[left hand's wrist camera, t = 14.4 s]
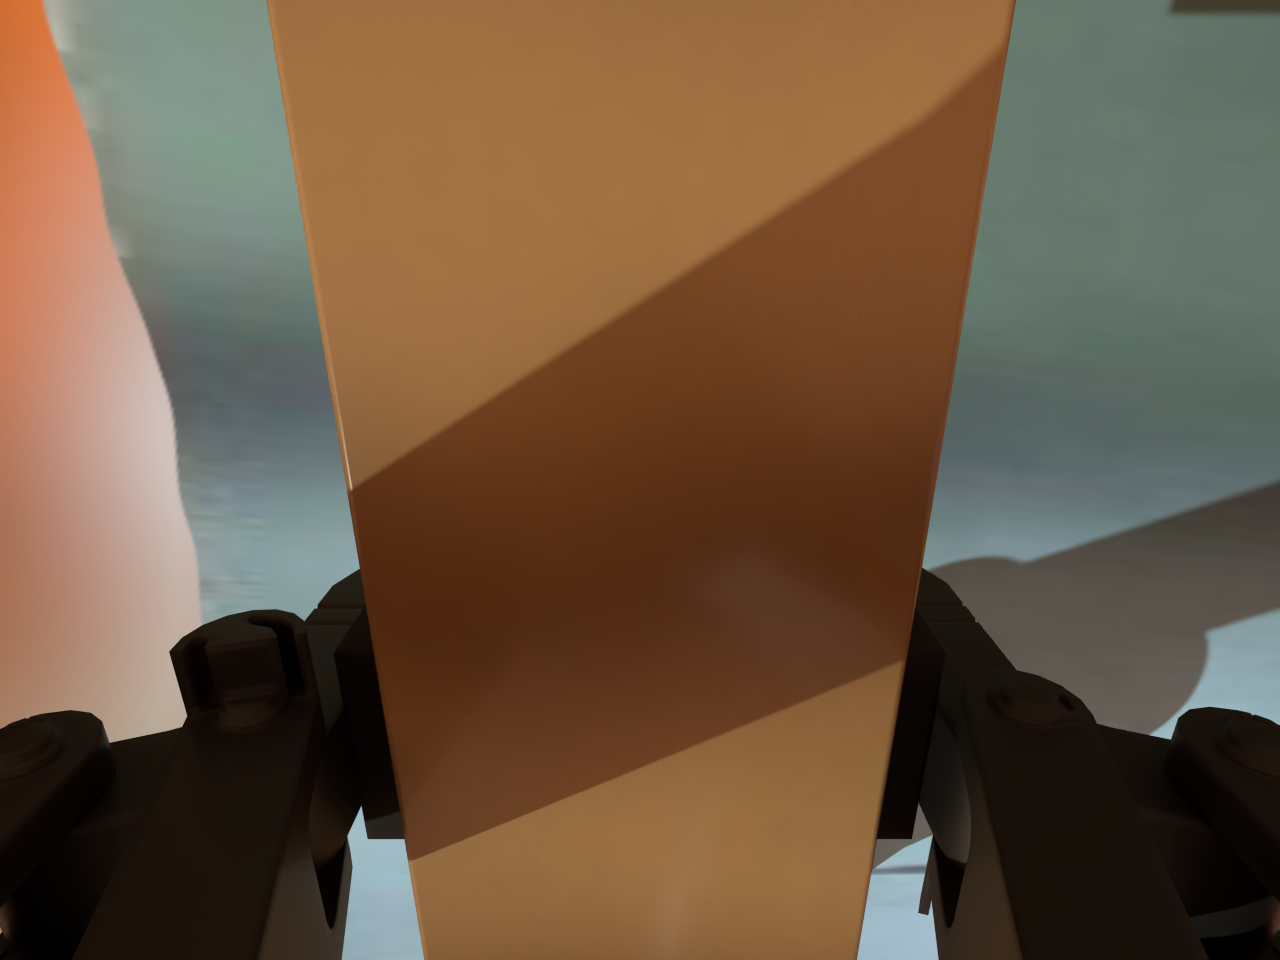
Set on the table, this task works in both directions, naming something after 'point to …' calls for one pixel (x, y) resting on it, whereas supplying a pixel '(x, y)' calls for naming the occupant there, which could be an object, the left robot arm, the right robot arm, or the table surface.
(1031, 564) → the table surface
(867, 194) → the bar
